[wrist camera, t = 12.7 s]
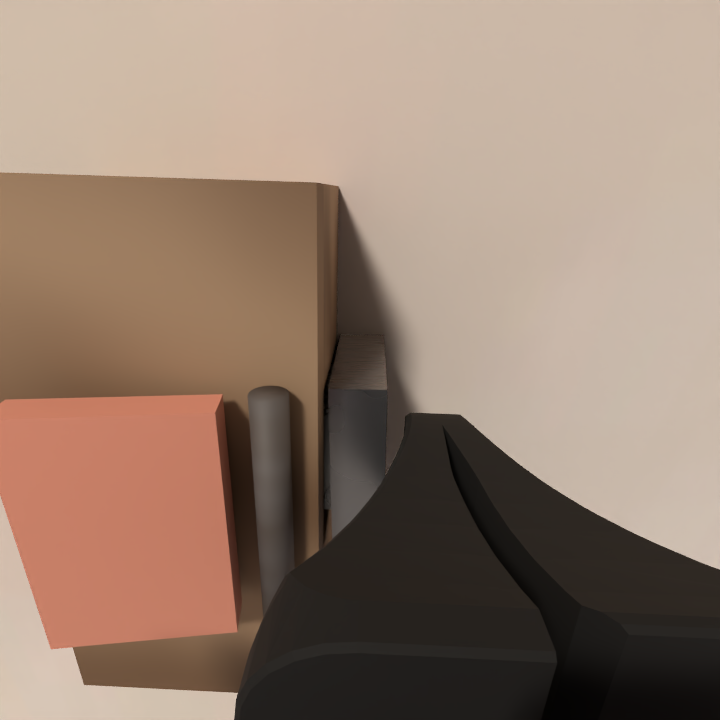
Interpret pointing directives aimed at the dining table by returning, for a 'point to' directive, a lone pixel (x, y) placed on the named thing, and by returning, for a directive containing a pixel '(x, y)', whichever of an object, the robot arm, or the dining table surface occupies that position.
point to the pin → (354, 426)
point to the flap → (123, 515)
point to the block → (185, 355)
